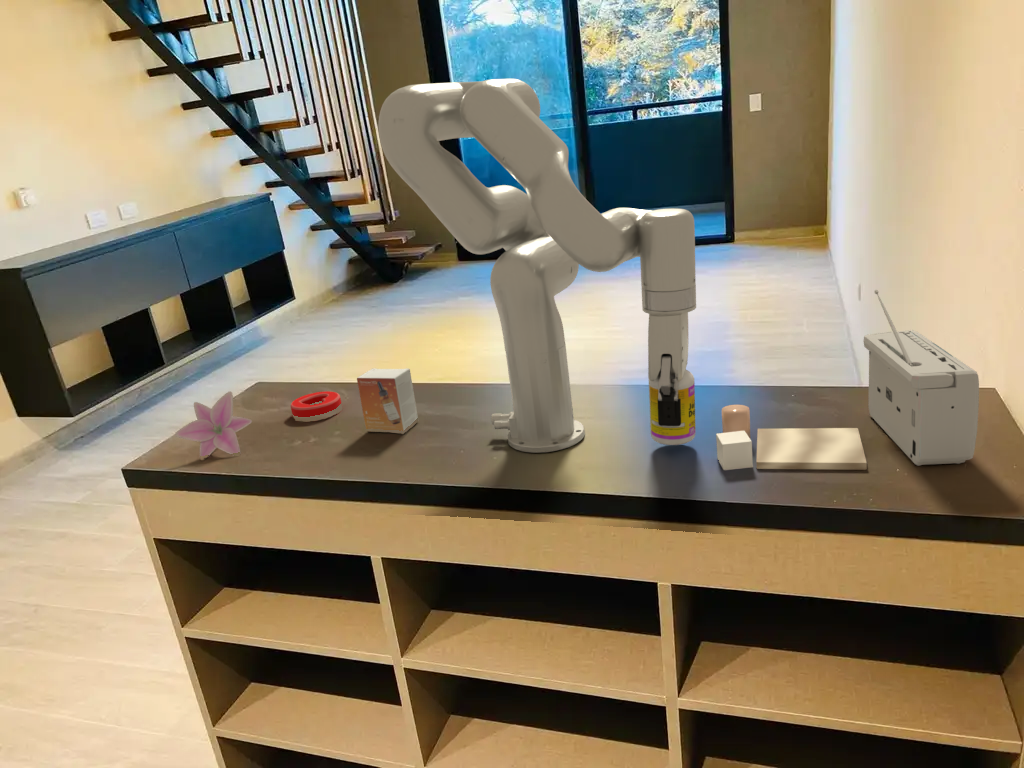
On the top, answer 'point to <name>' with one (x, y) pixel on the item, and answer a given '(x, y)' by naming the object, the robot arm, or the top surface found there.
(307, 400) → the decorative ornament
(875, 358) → the stereo radio cassette player
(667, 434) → the supplement bottle
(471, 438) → the top surface
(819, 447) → the ash board
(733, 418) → the peach rounded capsule
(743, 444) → the off-white block
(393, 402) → the small box
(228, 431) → the lily
